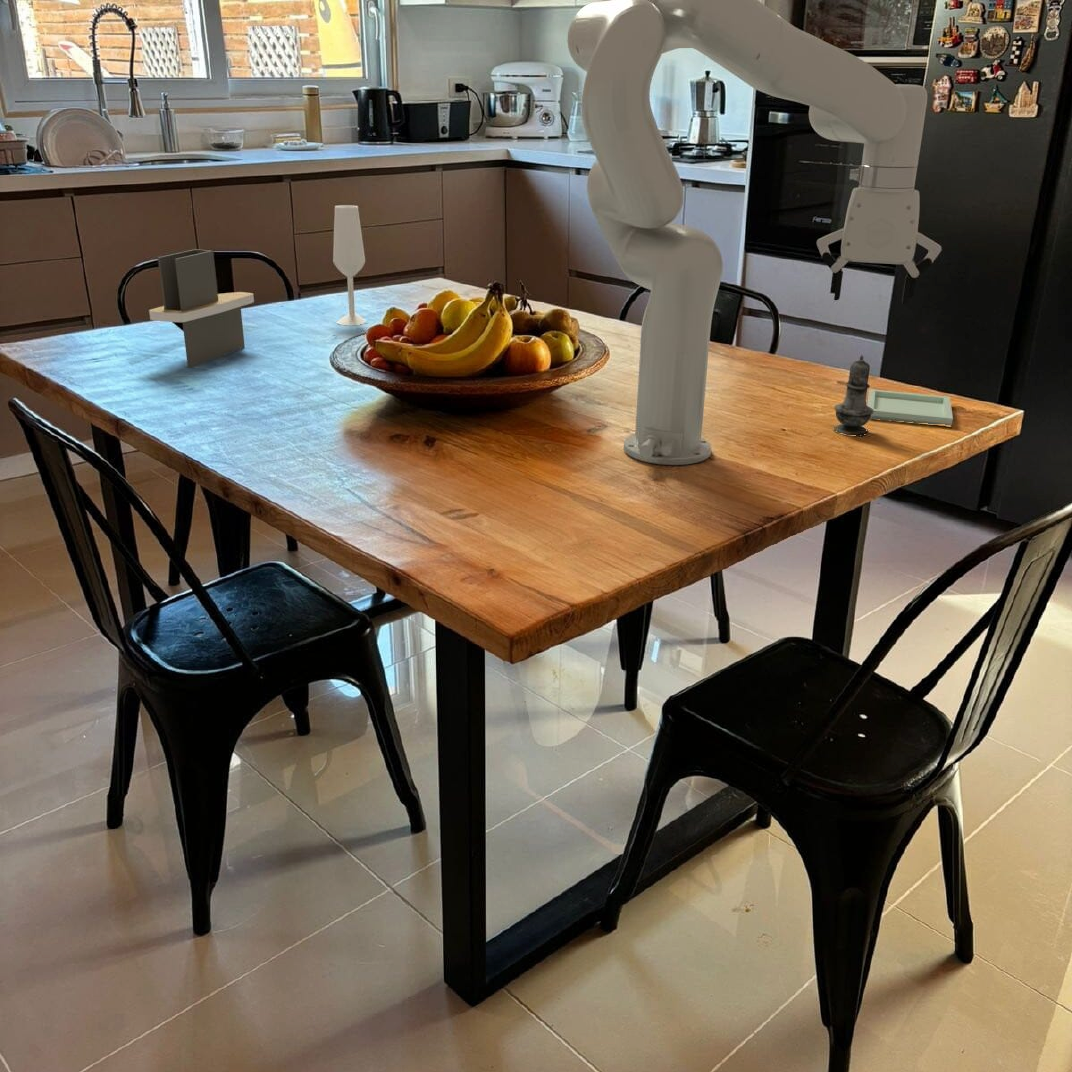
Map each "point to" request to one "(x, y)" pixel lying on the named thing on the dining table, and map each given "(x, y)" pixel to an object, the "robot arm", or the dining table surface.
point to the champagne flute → (348, 253)
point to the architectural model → (200, 306)
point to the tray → (910, 407)
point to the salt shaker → (855, 401)
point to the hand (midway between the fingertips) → (870, 301)
